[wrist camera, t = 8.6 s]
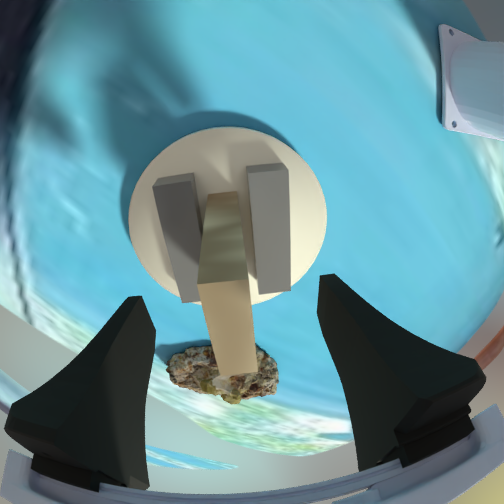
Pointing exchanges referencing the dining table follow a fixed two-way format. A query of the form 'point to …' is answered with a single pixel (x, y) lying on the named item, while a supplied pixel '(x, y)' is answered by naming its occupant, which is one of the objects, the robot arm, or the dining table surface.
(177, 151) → the clip base
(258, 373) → the mineral rock
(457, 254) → the dining table surface
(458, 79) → the robot arm
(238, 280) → the wooden block
